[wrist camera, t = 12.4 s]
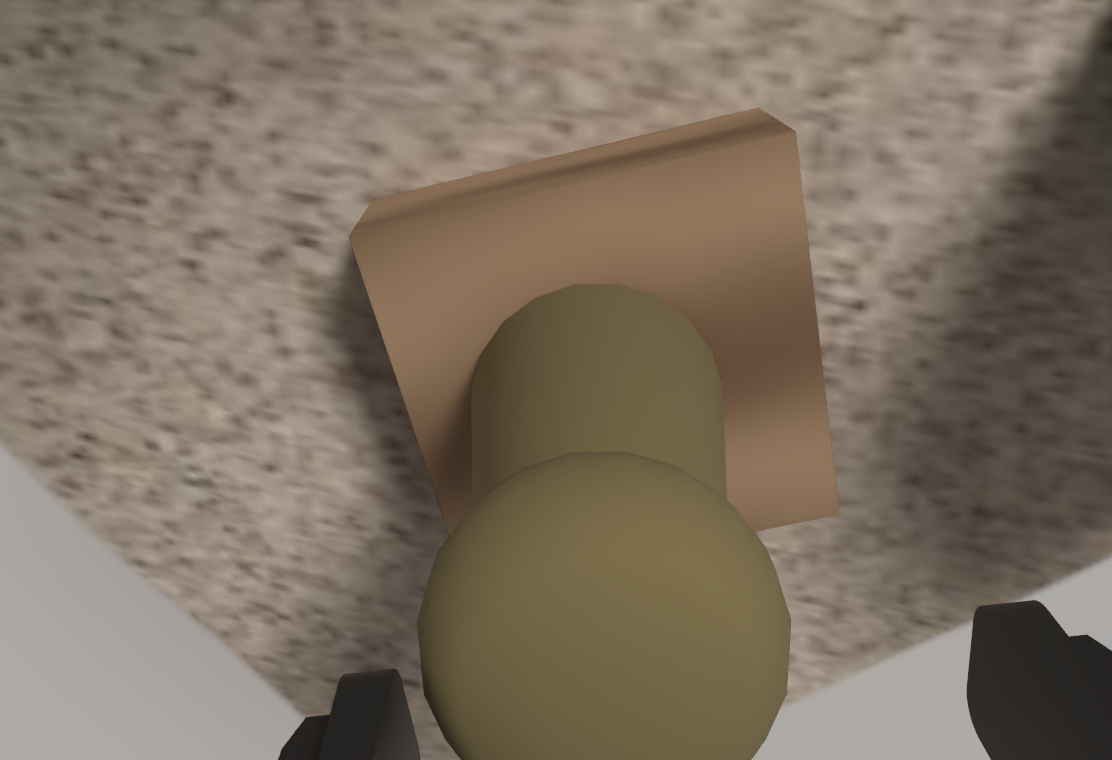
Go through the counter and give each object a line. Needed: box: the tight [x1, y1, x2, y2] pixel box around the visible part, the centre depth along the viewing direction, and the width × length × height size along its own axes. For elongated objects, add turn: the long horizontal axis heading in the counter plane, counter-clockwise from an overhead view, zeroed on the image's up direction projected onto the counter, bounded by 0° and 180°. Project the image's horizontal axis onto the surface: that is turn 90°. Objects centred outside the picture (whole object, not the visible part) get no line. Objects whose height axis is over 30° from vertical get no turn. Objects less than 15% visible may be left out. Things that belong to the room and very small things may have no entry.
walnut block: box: [349, 108, 839, 536], centre depth 24 cm, size 10×10×4 cm
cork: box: [417, 284, 791, 760], centre depth 16 cm, size 6×6×11 cm
